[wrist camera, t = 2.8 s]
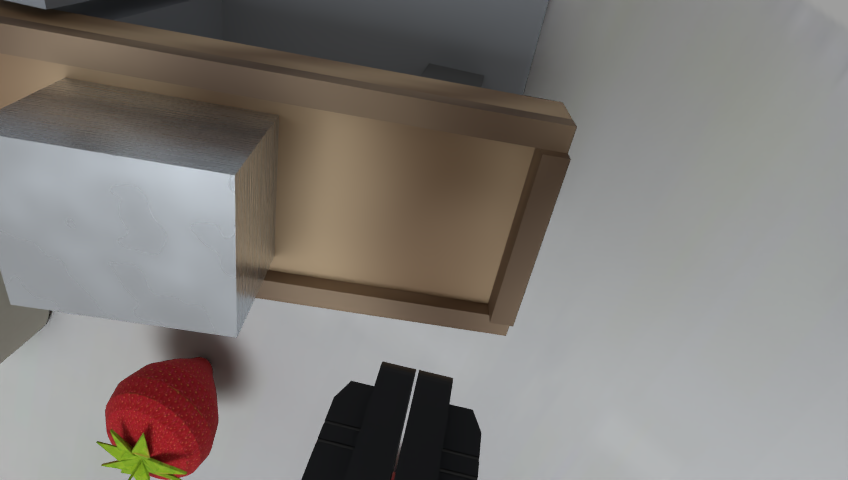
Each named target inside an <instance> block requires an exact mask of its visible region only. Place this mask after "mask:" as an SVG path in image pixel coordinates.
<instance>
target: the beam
mask: <svg viewBox="0 0 848 480" xmlns="http://www.w3.org/2000/svg"><path fill="white" fill-rule="evenodd" d="M63 78H70V79H75V80H81V81H87V82H93V83H98V84H104V85H110V86H115V87H121V88H127V89H133V90H138V91H144V92H150V93H156V94H161V95H167V96H173V97H178V98H184V99H190V100H196V101H201V102H207V103H213V104H218V105H224V106H230V107H236V108H241V109H247V110H253V111H258V112H264V113H270V114H276V115H279V134H278V164H277V193H276V223H275V253H274V258H273V261H272V263H271V265H270V267H269V269H268V271H267V274H266V276H265V278H264V280H263V282H262V284H261V287H260V289H259V291H258V293H257V295H256V297H255V298H260V299H267V300H274V301H280V302H287V303H293V304H300V305H307V306H313V307H320V308H326V309H333V310H340V311H346V312H353V313H359V314H366V315H372V316H379V317H386V318H392V319H399V320H405V321H412V322H419V323H425V324H432V325H438V326H445V327H452V328H458V329H465V330H471V331H478V332H485V333H491V334H498V335H504V336H506V334H507V331H508V328H509V326H513V325H514V322H515V319H516V316H517V313H518V310H519V308H520V305H521V302H522V299H523V296H524V293H525V290H526V287H527V284H528V281H529V279H530V276H531V273H532V270H533V267H534V264H535V261H536V258H537V255H538V252H539V250H540V247H541V244H542V241H543V238H544V235H545V232H546V229H547V226H548V223H549V221H550V218H551V215H552V212H553V209H554V206H555V203H556V200H557V197H558V194H559V192H560V189H561V186H562V183H563V180H564V177H565V174H566V171H567V168H568V165H569V163H570V160H571V159H570V157H569V155H568V152H569V149H570V146H571V143H572V140H573V137H574V134H575V131H576V128H577V126H576V125H575V123H574V121H573V120H572V118H571V116H570V114H569V113H568V111H567V109H566V107H565V106H564V104H563V103H562V102H557V101H551V100H546V99H541V98H535V97H530V96H524V95H519V94H513V93H508V92H502V91H497V90H491V89H486V88H480V87H475V86H469V85H464V84H459V83H453V82H448V81H442V80H437V79H431V78H426V77H420V76H415V75H409V74H404V73H398V72H393V71H388V70H382V69H377V68H371V67H366V66H360V65H355V64H349V63H344V62H338V61H333V60H327V59H322V58H316V57H311V56H306V55H300V54H295V53H289V52H284V51H278V50H273V49H267V48H262V47H256V46H251V45H245V44H240V43H234V42H229V41H224V40H218V39H213V38H207V37H202V36H196V35H191V34H185V33H180V32H174V31H169V30H163V29H158V28H153V27H147V26H142V25H136V24H131V23H125V22H120V21H114V20H109V19H103V18H98V17H92V16H87V15H81V14H76V13H71V12H65V11H60V10H54V9H42V8H37V7H33V6H28V5H24V4H20V3H15V2H10V1H5V0H0V109H1V108H3V107H5V106H8V105H10V104H12V103H14V102H16V101H18V100H20V99H22V98H24V97H26V96H28V95H30V94H32V93H34V92H36V91H38V90H40V89H42V88H44V87H47V86H49V85H51V84H53V83H55V82H57V81H59V80H61V79H63Z"/></svg>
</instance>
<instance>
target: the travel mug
mask: <svg viewBox="0 0 848 480" xmlns="http://www.w3.org/2000/svg"><path fill="white" fill-rule="evenodd" d="M48 317H49V310H44V309H37V308H30V307H24V306H17V305H11V304H10V301H9V298H8V294H7V291H6V287H5V284H4V281H3V277H2V274H1V270H0V363H2V362H3V361H4V360H5V359H6V358H7V357H9V356H10V355H11V354H12V353H13V352H15V351H16V350H17V349H18V348H19V347H20V346H22V345H23V344H24V343H25V342H26V341H28V340H29V339H30V338H31V337H32V336H33V335H35V334H36V333H37V332H38V331H39V330H40V329H42V328H43V327H44V326H45V324H46V322H47V320H48Z"/></svg>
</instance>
